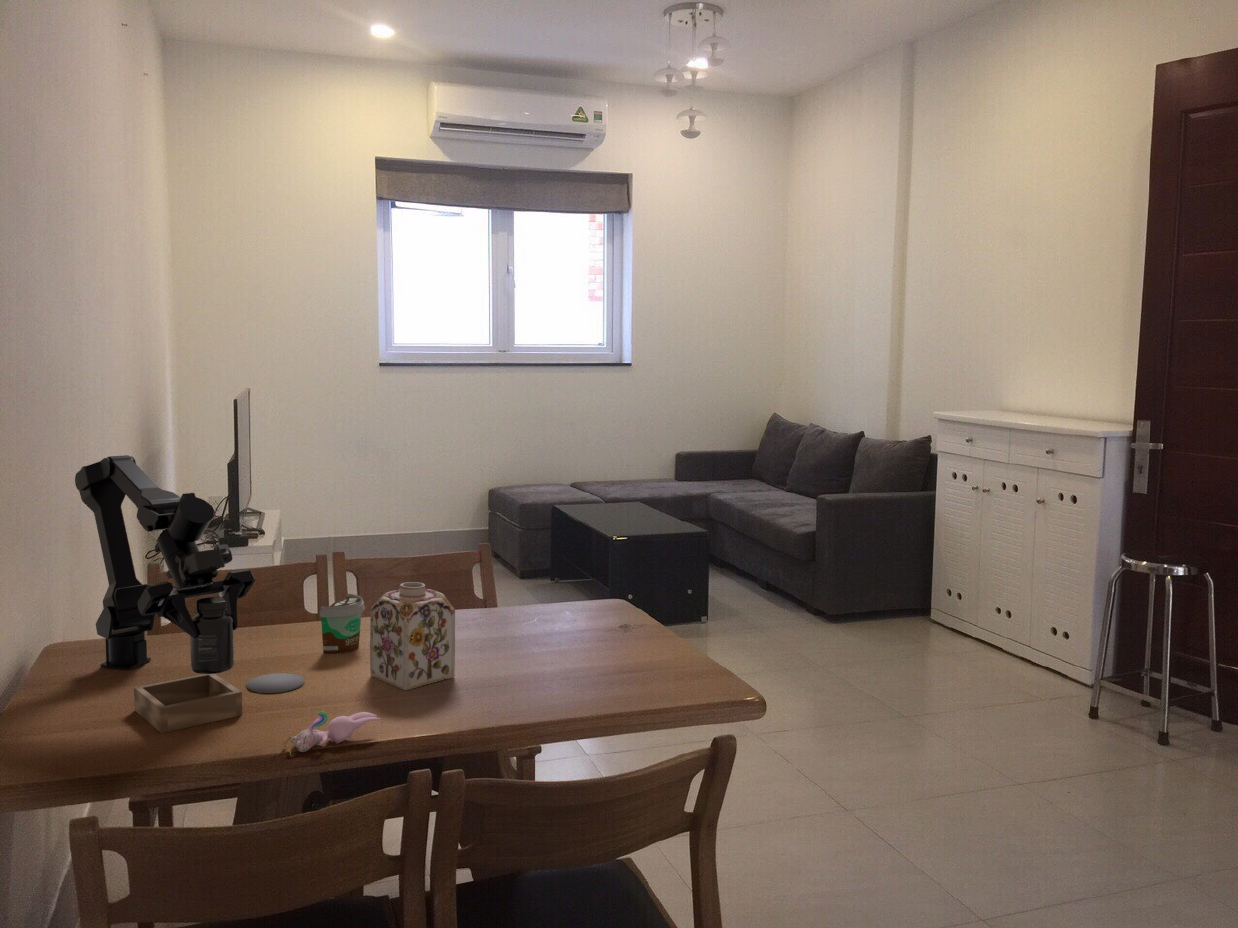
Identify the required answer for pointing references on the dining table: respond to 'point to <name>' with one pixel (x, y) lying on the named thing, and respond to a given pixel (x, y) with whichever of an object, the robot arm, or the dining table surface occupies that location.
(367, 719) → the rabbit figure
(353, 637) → the food container
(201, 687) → the walnut box
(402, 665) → the decorative jar
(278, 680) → the coaster
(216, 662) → the supplement bottle
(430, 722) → the dining table surface
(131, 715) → the dining table surface
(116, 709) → the dining table surface
